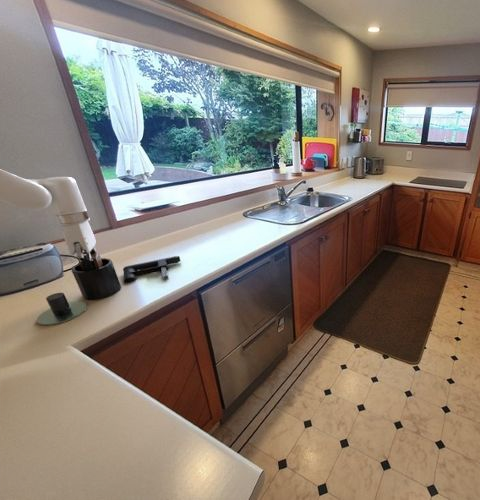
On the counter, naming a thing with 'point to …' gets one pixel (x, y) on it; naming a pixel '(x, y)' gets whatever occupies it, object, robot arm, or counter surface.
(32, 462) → the counter surface
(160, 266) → the door handle
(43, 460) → the counter surface
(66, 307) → the lid
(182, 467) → the counter surface
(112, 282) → the canister
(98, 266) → the block
